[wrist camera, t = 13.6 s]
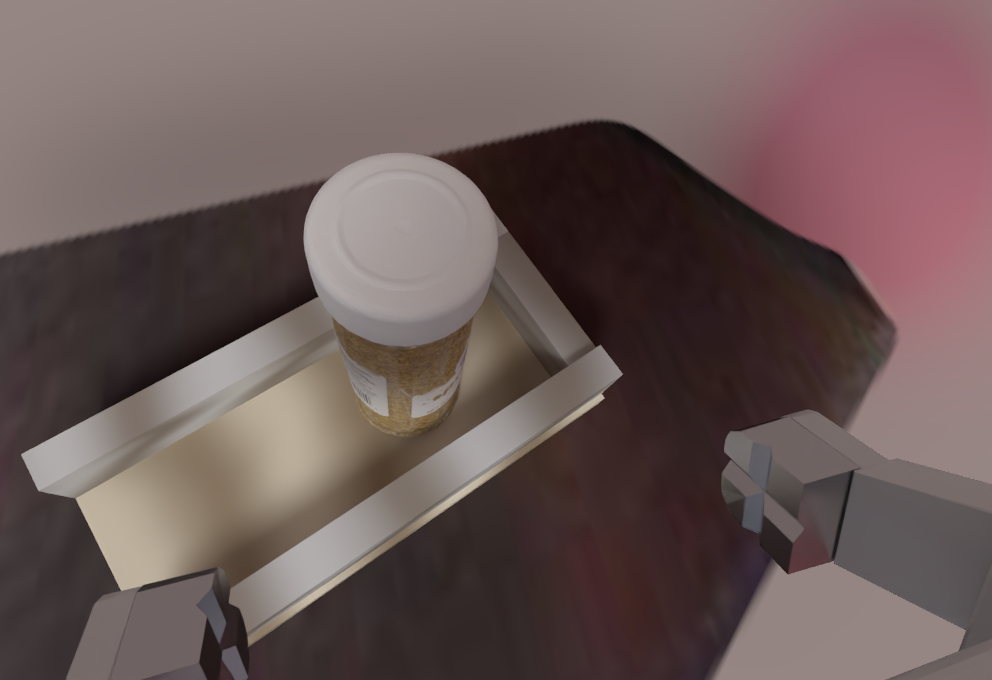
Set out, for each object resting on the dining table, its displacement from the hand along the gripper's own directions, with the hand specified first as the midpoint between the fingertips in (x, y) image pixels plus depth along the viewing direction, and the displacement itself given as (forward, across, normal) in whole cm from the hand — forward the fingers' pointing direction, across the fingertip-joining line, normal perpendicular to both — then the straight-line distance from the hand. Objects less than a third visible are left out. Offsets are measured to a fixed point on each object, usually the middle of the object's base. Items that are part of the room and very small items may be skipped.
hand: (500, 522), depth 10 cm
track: (+16, +3, +8) cm, 18 cm away
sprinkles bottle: (+16, 0, +6) cm, 18 cm away
